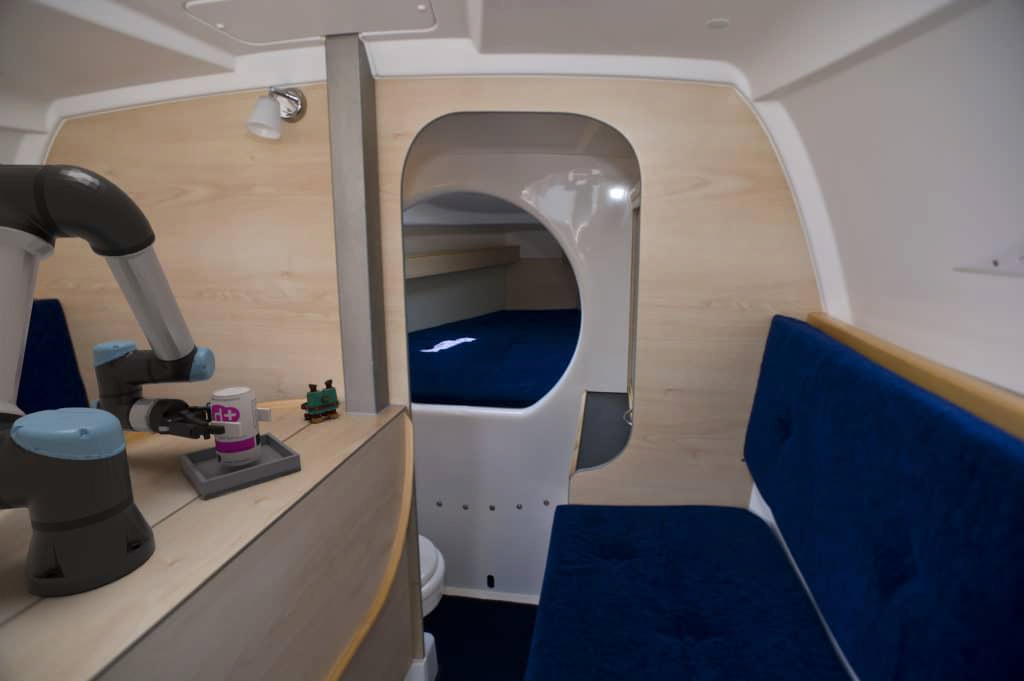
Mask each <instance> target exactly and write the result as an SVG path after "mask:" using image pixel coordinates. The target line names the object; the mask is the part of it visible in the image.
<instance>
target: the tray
mask: <svg viewBox="0 0 1024 681" xmlns="http://www.w3.org/2000/svg"><path fill="white" fill-rule="evenodd" d="M260 442H261V451H262V452H261V455H260V456H259V457H258V458H257V459H256V460H255V461H253V462H251V463H248V464H245V465H240V466H224V465H222V464H221V463H219V462H218V460H217V454H216V446H215V445H214V446H211V447H206V448H201V449H199V450H198V449H197V450H194V451H190V452H186V453H182V454H179V457H180V464H181V470H182V472H183V473H184V475H185V476H186V477H187V479H188V480H189V482H190V483H191V484H192V485H193V486H194V488H195V489H196V490H197V492H198V493H199V495H200V496H201V497H202V499H203V498H204V499H203V500H204V501H206V500H210V499H213V498H212V497H214V498H216V496H217V497H220V496H223V495H225V493H227V494H229V493H228V492H230V493H232V492H231V491H233V492H236V491H239V490H242V489H241V488H243V489H246V488H249V487H252V486H255V484H256V485H258V484H262V483H265V482H269V481H272V480H275V479H278V478H281V477H283V476H284V475H285V476H288V475H291V474H294V473H297V471H298V472H300V471H299V470H301V471H302V465H301V455H300V454H299V453H298V452H297V451H295V450H294V449H293V448H291V447H290V446H289V445H287V444H286V443H285V442H283V441H281V439H279V438H277V437H276V436H275V435H273V434H272V433H271V432H266V433H262V434H260ZM293 472H294V473H293ZM287 474H288V475H287ZM251 485H252V486H251ZM248 486H249V487H248ZM245 487H246V488H245ZM238 489H239V490H238ZM235 490H236V491H235ZM222 494H223V495H222ZM219 495H220V496H219Z"/></svg>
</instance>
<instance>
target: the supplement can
mask: <svg viewBox="0 0 1024 681" xmlns="http://www.w3.org/2000/svg"><path fill="white" fill-rule="evenodd" d="M209 402H210V406H211V414H212V421H222V422H238V423H242V431H243V436H242V437H233V436H219V435H213V436H214V444H215V445H214V446H216V454H217V460H218V462H219V463H221V464H222V465H224V466H240V465H245V464H248V463H251V462H253V461H255V460H256V459H257V458H258V457H259V456H260V455H261V452H262V451H261V442H260V435H261V434H260V427H259V426H260V425H259V424H260V423H259V421H258V414H257V408H258V407H257V396H256V394H255V392H254V391H253V390H252V387H250V386H247V385H246V386H245V385H237V386H235V385H234V386H228V387H223V388H220V389H217V390H215V391H213V392H212V395H211V398H210V400H209Z"/></svg>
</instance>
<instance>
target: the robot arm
mask: <svg viewBox="0 0 1024 681" xmlns="http://www.w3.org/2000/svg"><path fill="white" fill-rule="evenodd" d="M65 238H66V239H67V238H69V239H70V238H71V239H72V238H74V239H76V238H80V239H82V240H85V241H86V242H87V243H88V245H89V247H90V249H91V250H92V252H93V253H94V254H95V255H97V256H99V257H101V258H104V260H105V261H106V264H107V265H108V267H109V270H110V272H111V273H112V276H113V277H114V279H115V281H116V283H117V285H118V287H119V289H120V291H121V292H122V294H123V296H124V298H125V301H126V302H127V304H128V305H129V308H130V310H131V312H132V314H133V316H134V317H135V320H136V321H137V323H138V324H139V327H140V329H141V332H142V333H143V334H144V336H145V339H146V341H147V342H148V344H149V347H150V348H151V349H138V347H137V344H136V343H135V342H134V341H133V340H113V341H106V342H102V343H98V344H96V345H95V346H94V347H93V349H92V360H93V365H92V366H93V368H94V373H95V378H96V382H97V383H96V384H97V390H98V394H99V395H98V397H97V398H95V399H94V400H93V402H91V405H90V407H64V408H63V407H62V408H58V409H46V410H41V411H40V410H39V411H36V412H32V413H28V414H26V413H25V412H24V411H23V410H21V409H20V408H19V407H18V405H17V399H18V392H19V387H20V381H21V380H20V379H21V376H22V370H23V363H24V357H25V352H26V345H27V340H28V335H29V334H28V333H29V327H30V321H31V315H32V309H33V303H34V299H35V298H34V296H35V291H36V285H37V281H38V274H39V273H38V272H39V269H40V262H41V261H43V260H46V259H49V258H51V257H53V255H54V252H55V246H56V241H57V239H65ZM156 239H157V238H156V234H155V232H154V230H153V228H152V225H151V223H150V220H148V218H147V216H146V215H145V213H144V212H143V211H142V209H141V208H140V207H139V205H138V204H137V203H136V202H135V201H134V199H132V198H131V196H129V194H127V193H126V192H125V191H124V190H122V189H121V188H120V186H118V185H117V184H115V183H114V182H112V181H111V180H109V179H108V178H106V177H105V176H103V175H101V174H99V173H97V172H96V171H93V170H90V169H88V168H85V167H83V166H79V165H73V164H66V163H65V164H62V163H61V164H11V163H10V164H3V163H0V511H5V510H13V509H14V510H15V509H22V508H23V509H24V508H25V509H27V511H28V516H29V518H30V523H31V530H32V533H31V536H30V537H31V538H30V542H29V545H28V550H27V554H26V559H25V563H24V566H23V577H24V584H25V586H26V587H25V588H26V590H28V592H30V593H31V594H33V595H36V596H43V597H60V596H67V595H73V594H77V593H81V592H86V591H88V590H92V589H96V588H98V587H100V586H103V585H106V584H109V583H111V582H113V581H115V580H117V579H120V578H122V577H124V576H125V575H127V574H129V573H131V572H132V571H134V570H136V569H137V568H138V567H140V566H141V565H143V564H144V563H145V562H146V561H147V560H148V559H149V558H150V557H151V556H152V554H153V553H154V551H155V549H156V542H155V541H156V540H155V534H154V530H153V529H152V527H151V526H150V524H149V522H148V521H147V520H146V518H145V517H144V515H143V513H142V512H141V510H140V509H139V507H138V505H136V503H135V498H134V494H133V493H134V492H133V486H132V478H131V473H130V466H129V460H128V454H127V453H128V452H127V447H126V446H127V440H126V437H125V435H124V432H134V433H135V432H137V433H147V434H148V433H150V434H151V435H156V434H159V435H162V436H166V435H167V436H175V437H179V438H186V439H191V440H199V439H201V436H203V440H205V441H206V440H210V439H211V438H212V437H211V435H212V436H214V435H219V436H233V437H242V436H243V431H242V423H238V422H222V421H212V414H211V406H210V401H209V402H206V404H205V406H198V405H191V406H190V405H189V404H188V403H187V402H186V401H185V400H183V399H180V398H164V397H155V396H154V397H151V396H148V397H147V396H144V393H143V391H144V389H143V386H145V385H160V384H180V383H181V384H183V383H185V384H186V383H189V384H191V383H197V382H206V381H209V380H210V379H211V378H212V377H213V376H214V373H215V369H216V359H215V355H214V352H213V350H212V349H211V348H210V347H205V346H197V345H196V343H195V341H194V338H193V337H192V335H191V332H190V330H189V328H188V324H187V323H186V320H185V318H184V316H183V313H182V311H181V308H180V306H179V304H178V301H177V299H176V297H175V294H174V293H173V290H172V287H171V285H170V283H169V281H168V278H167V276H166V274H165V271H164V269H163V267H162V264H161V262H160V260H159V258H158V255H157V253H156V250H155V249H154V244H155V242H156ZM257 414H258V422H266V423H267V422H268V423H269V422H272V421H273V420H272V411H271V408H267V407H266V408H265V407H264V408H263V407H257Z"/></svg>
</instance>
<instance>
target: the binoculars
mask: <svg viewBox="0 0 1024 681" xmlns="http://www.w3.org/2000/svg"><path fill="white" fill-rule="evenodd" d="M333 382H334V381H333V379H332V378H331V379H327V380H325V381H324V385H325V388H322V390H319V389H317V387H318V385H317V384H314V383H308V388H309V390H310V391H307V392H306V402H302V403H301V404H300V409H301V410H302V411H305V413H304V414H303V416H304V417H303V418H304V419H311V422H312V423H314V424H319V423H323V416H327V418H329V419H337V418H338V417H339V412H338V411H337V409H338V408H339V407H340V402H339V399H338V393H337V389H336V387H335V386H333V385H332V384H333Z"/></svg>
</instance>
